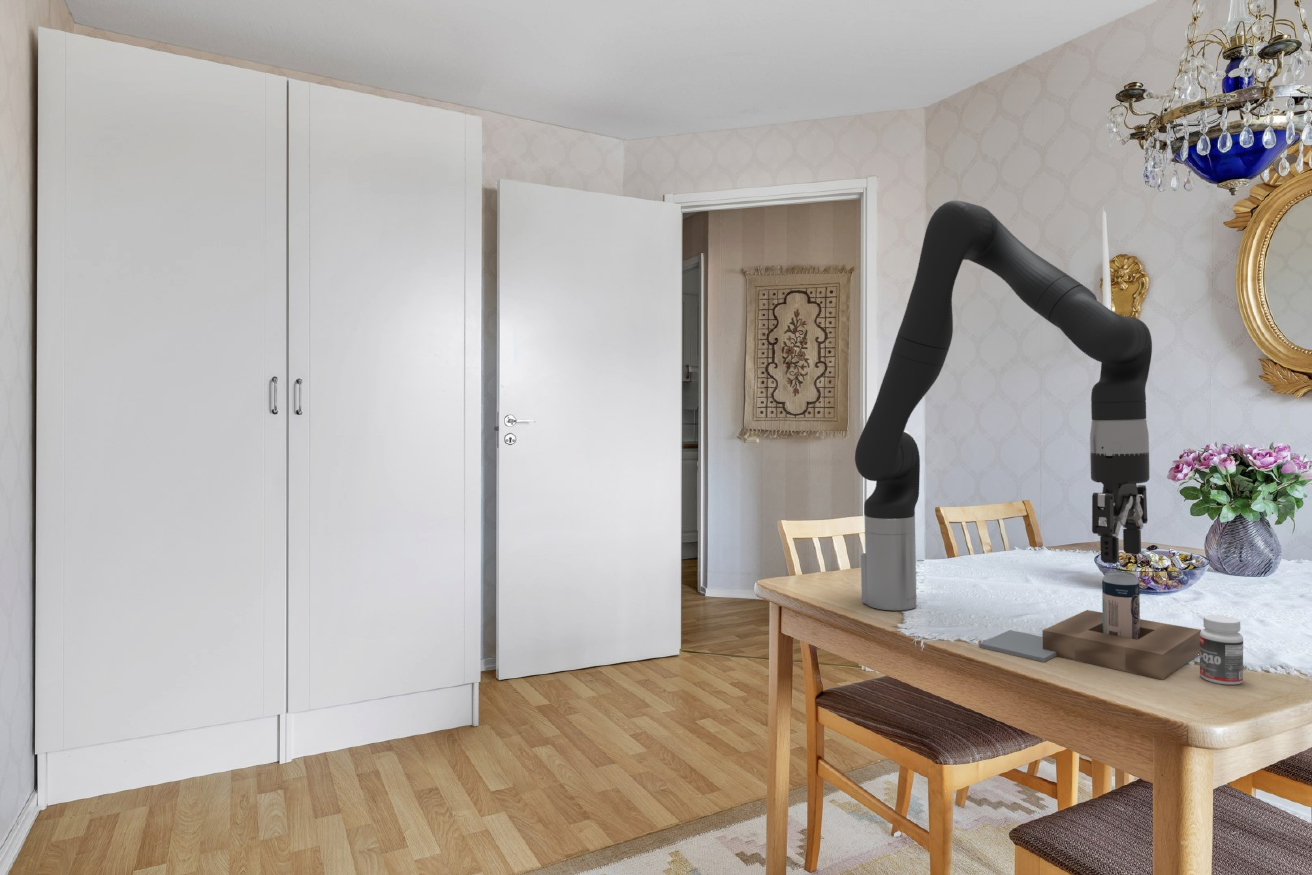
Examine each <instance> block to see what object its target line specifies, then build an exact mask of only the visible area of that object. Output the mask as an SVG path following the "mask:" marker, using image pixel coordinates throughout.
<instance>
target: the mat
mask: <svg viewBox="0 0 1312 875" xmlns="http://www.w3.org/2000/svg"><path fill="white" fill-rule="evenodd" d="M978 648H982V649H987V650H989V651H990V650H991V651H994V652H999V653H1003V654H1008V655H1011V656H1014V657H1015V656H1016V657H1020V658H1024V659H1029V660H1033V661H1037V662H1042V663H1045V662H1048V661H1050V660H1051V659H1053V658H1055V657H1057V656H1056V652H1054V651H1049V650H1045V649H1043V636H1040V635H1035V634H1031V633H1026V632H1023V631H1022V632H1021V631H1017V630H1011V629H1009V630H1007V631H1005V632H1002V633H1000V634H997V635H996V636H992V637H991V638H988V639H986V640H984V641H981V642H979V643H978Z"/></svg>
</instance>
